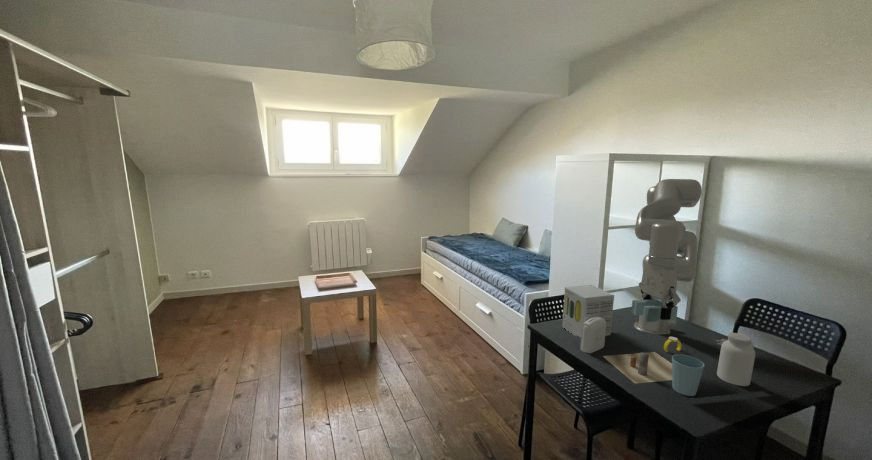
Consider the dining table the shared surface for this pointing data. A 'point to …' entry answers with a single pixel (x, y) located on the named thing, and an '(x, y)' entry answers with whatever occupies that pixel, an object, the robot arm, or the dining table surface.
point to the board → (652, 371)
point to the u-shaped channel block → (651, 310)
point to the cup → (686, 374)
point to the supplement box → (586, 307)
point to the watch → (672, 339)
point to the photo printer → (593, 335)
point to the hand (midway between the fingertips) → (655, 314)
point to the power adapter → (726, 340)
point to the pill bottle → (736, 360)
